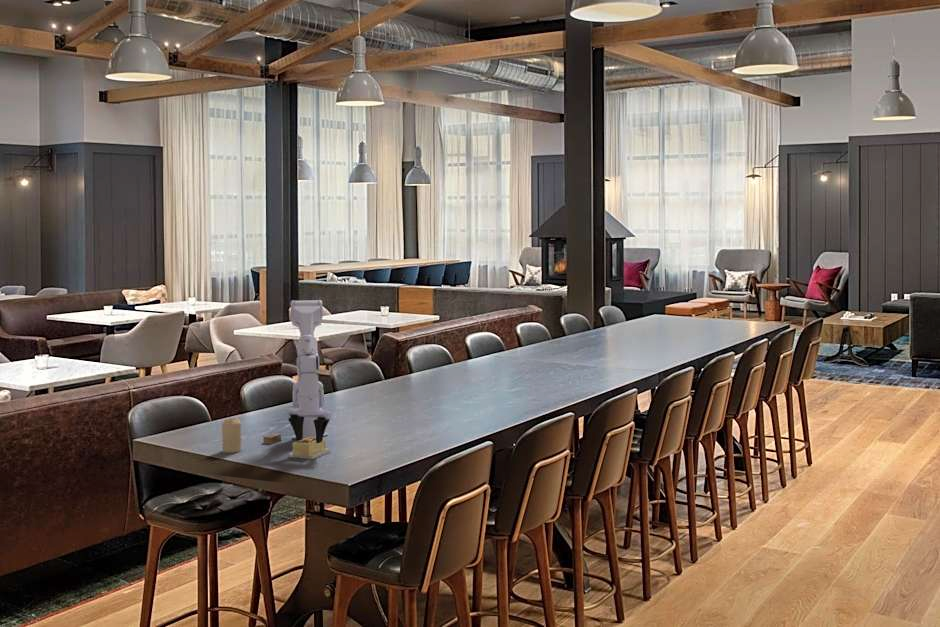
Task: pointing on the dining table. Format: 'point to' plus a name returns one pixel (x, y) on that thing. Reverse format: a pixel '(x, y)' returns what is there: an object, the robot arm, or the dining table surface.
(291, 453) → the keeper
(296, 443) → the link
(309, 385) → the robot arm
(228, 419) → the candle
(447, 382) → the dining table surface
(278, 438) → the tan rectangular block
